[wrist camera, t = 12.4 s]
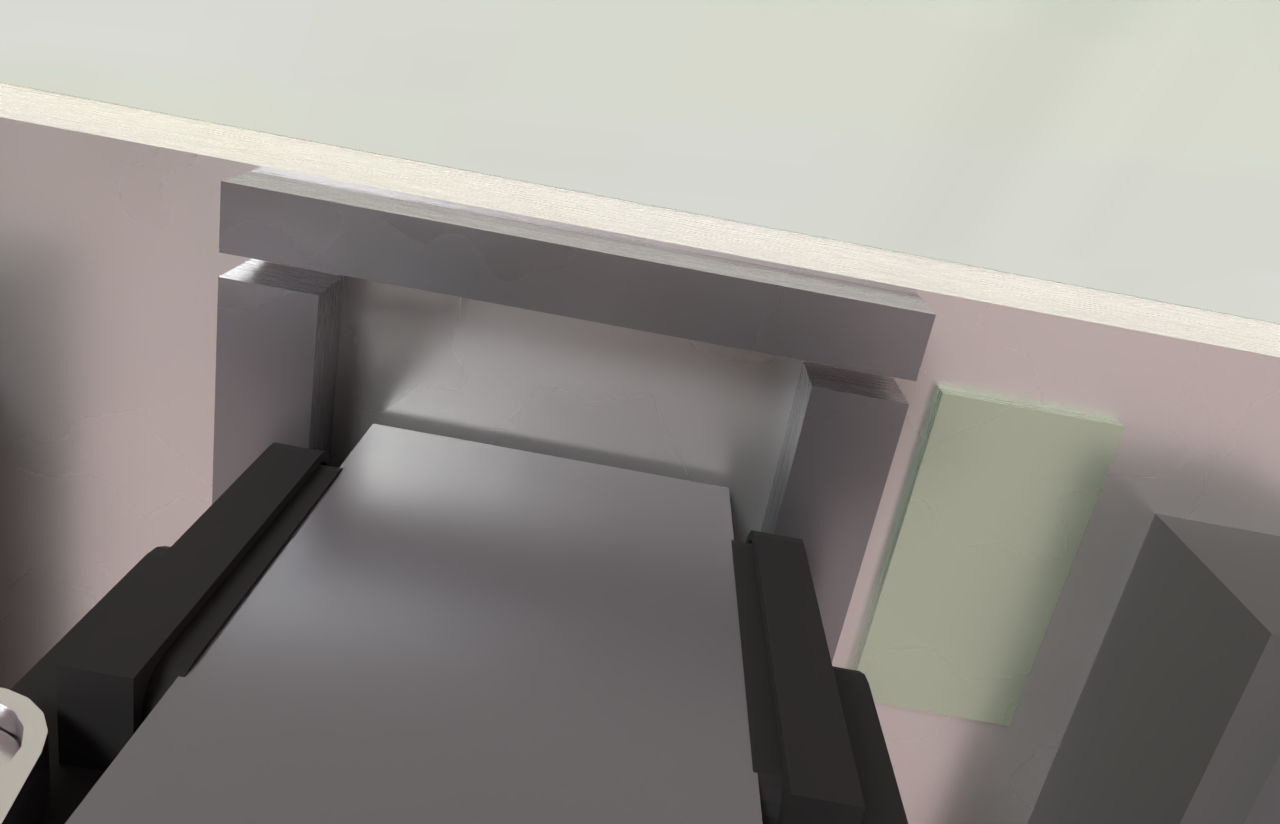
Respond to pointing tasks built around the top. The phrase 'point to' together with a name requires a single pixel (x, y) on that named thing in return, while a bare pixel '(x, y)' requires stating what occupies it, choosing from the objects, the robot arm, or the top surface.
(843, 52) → the top surface
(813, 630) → the robot arm
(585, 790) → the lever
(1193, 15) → the top surface
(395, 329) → the panel
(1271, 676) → the long gray rail
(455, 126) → the top surface
